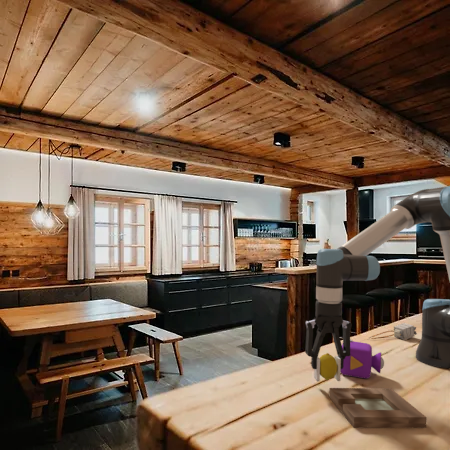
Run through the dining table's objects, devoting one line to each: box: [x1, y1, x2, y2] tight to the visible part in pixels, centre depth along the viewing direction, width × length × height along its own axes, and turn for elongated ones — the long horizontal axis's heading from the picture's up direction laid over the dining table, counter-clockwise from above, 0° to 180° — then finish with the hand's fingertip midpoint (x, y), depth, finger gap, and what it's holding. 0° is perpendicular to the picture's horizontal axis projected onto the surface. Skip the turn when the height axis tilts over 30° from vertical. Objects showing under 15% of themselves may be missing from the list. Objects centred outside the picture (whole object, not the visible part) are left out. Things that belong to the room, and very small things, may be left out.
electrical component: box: [368, 322, 418, 341], centre depth 165 cm, size 24×6×5 cm, turn 113°
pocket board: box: [328, 387, 427, 429], centre depth 96 cm, size 18×16×2 cm
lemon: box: [319, 352, 337, 381], centre depth 110 cm, size 6×6×8 cm
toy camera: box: [340, 338, 385, 380], centre depth 122 cm, size 11×14×10 cm
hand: (327, 379), depth 110 cm, fingers closed on lemon, 5 cm apart
